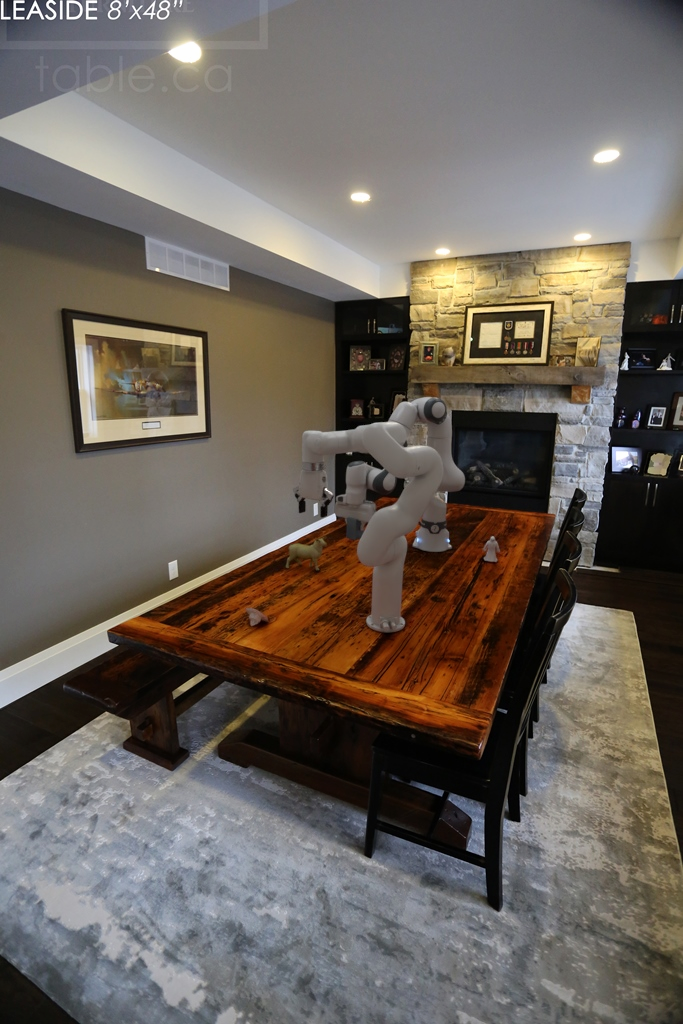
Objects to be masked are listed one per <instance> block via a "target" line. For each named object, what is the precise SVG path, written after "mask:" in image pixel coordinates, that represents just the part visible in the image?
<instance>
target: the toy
mask: <svg viewBox="0 0 683 1024" xmlns="http://www.w3.org/2000/svg"><path fill="white" fill-rule="evenodd" d="M325 540H327V536H323V537H321V538H315V540H314V542H313V544H311V545H306V544H302V543H292V544H290V545H289V546H288V553H289V557H288V556H287V558H286V564H285V569H286V570H290V562H292V561H295V562H296V563H297V564H298V566H300V567H302V566H303V564H302V563H303V562H302V561H300V560H310V563H309V567H310V568H314V567H315V571H316V572H320V571H321V570H320V568H319V567H318V560H319V559H320V558H321V557H322V555H323V553H322V552H323V547H327V546H328V544H327V542H326V541H325ZM299 559H300V560H299Z"/></svg>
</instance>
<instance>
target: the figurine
mask: <svg viewBox="0 0 683 1024" xmlns="http://www.w3.org/2000/svg"><path fill="white" fill-rule="evenodd" d="M482 551H483V552H486V554H485V556H484V557H483V560H484V561H485V562H495V563H498V558H497V554H496V553H498V554H499V553H501V550H500V547H499V543H498V541H497V540H496V538H495V536H493V535H492V536H490V539H489V540H487V542H486V543H485V544H484V546H483V548H482Z"/></svg>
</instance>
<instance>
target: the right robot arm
mask: <svg viewBox="0 0 683 1024" xmlns="http://www.w3.org/2000/svg"><path fill="white" fill-rule="evenodd" d="M387 422H396V423H399V424H401V425H402V426H403V427H404V428H405V430H406V434H407V438H406V441H405V443H404V444H403V445H402V447H403V448H404V447H408V440H409V437H410V435H411V432H412V430H413V428H414V426H415V424H416V423H417V422H418V423H426V426H427V436H426V446H429V447H432V448H433V449H435V450H436V451H437V452H438V454H439V455H440V457H441V460H442V463H443V477H442V481H441V483H440V486H439V488H438V490H437V491H436V492H446V493H453V492H459V491H461V490H462V489H463V488H464V486H465V483H466V477H465V474H464V472H463V471H462V470H461V469H460V468H459V467H458V466H457V465H456V464H455V462H454V459H453V455H452V437H453V429H452V428H453V425H452V418H451V416H450V415H448V410H447V405H446V402H445V400H443V399H442V398H439V397H435V396H434V397H432V396H424V397H416V398H414V399H412V400H410V401H402V402H400V403H399V404H398V405H397V406H396V408H395V409H394V410H393V412H392V414H391V415H390V417H389V418H388V421H387ZM345 471H346V472H345V484H346V489H345V493H343V494H339V495H336V497H335V501H336V502H335V504H334V514H335V516H336V517H339V518H344V522H345V523H346V524H347V518H348V517H350V518H355V519H358V520H359V521H361V523H362V525H361V526H359V530H361V531H362V530H364V531H365V525H366V524H367V523H369V521H370V519H371V518H372V516H373V515H374V514H375V513H376V512H377V505H376V503H375V502H374V501H371V500H367V490H371V491H373V492H375V493H377V494H379V495H381V496H387V495H389V494H391V493H392V492H393V491H394V490H395V488H396V485H397V481H398V478H397V477H395V476H393V475H391V474H390V473H389V472H388V471H387V470H386V469H385V468H384V467H383V469H381V468H377V467H374V466H371V465H369V464H367V462H365V461H363V460H356V461H352V462H349V463H348V464H347V467H346V470H345ZM413 477H414V476H413ZM413 477H408V483H409V482H410V481H411V480H412V479H413ZM447 509H448V507H447V503H446V501H444V500H443V499H442V498H440V497H438V496H436V494H435V495H434V496H433V498H432V499H431V501H430V503H429V505H428V506H427V508H426V510H425V512H424V514H423V515H422V517H421V519H420V521H419V522H418V524H419V525H420V527H419V529H418V530H416V531H415V536H416V537H415V538H414V541H413V543H412V545H411V547H412V548H415V549H419V550H421V551H426V552H430V553H433V552H434V553H438V552H439V553H440V552H446V551H447V550H451V549H453V546H452V545H451V544H450V532H449V531H448V529H447V524H448V522H447Z"/></svg>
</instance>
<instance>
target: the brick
mask: <svg viewBox="0 0 683 1024" xmlns="http://www.w3.org/2000/svg"><path fill="white" fill-rule="evenodd" d="M361 525H362V523H361V521H359V520H358V519H355V518H350V517H348V518H347V523H346V539H349V540H353V541H358V540H360V539H361V537H362V535H363V533H364V531H365V529H364V530H362V531H361V530H359V526H361Z"/></svg>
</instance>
